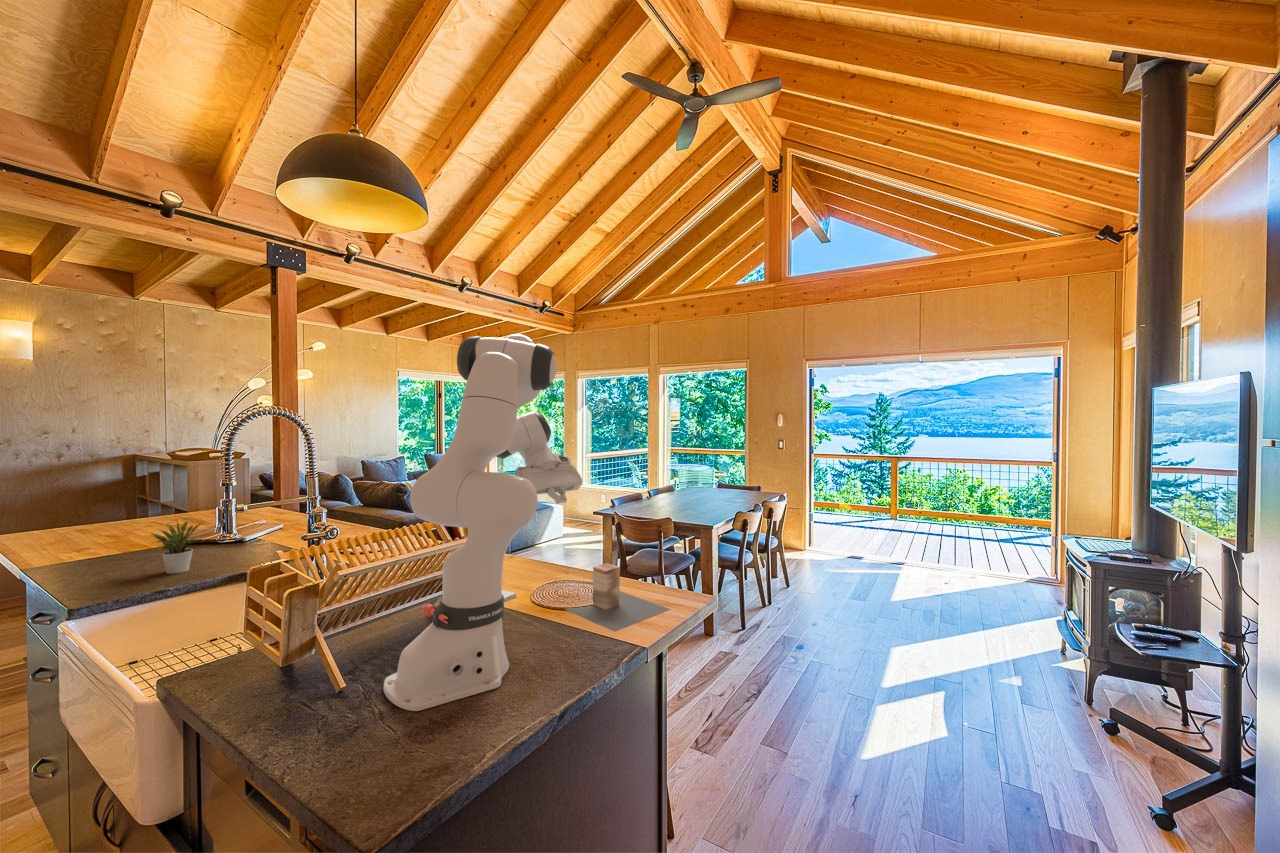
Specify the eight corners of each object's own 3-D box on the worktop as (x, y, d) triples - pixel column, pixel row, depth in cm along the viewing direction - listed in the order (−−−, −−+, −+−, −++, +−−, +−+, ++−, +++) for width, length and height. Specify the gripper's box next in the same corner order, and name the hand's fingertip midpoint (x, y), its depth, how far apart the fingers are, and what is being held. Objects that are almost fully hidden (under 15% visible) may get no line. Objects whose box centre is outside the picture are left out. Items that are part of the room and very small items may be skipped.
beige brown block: (605, 609, 132) (605, 570, 131) (592, 604, 135) (593, 566, 135) (619, 604, 135) (619, 567, 135) (606, 599, 139) (607, 563, 138)
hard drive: (494, 587, 145) (459, 600, 135) (516, 592, 141) (482, 606, 131) (494, 593, 145) (459, 607, 135) (516, 598, 141) (482, 613, 131)
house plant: (203, 561, 169) (204, 512, 169) (218, 568, 162) (218, 517, 161) (144, 571, 158) (145, 518, 157) (157, 579, 150) (158, 524, 150)
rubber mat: (614, 633, 118) (614, 631, 118) (564, 611, 131) (564, 609, 131) (670, 611, 133) (670, 609, 133) (619, 593, 146) (619, 591, 146)
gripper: (517, 460, 146) (536, 498, 139) (573, 457, 160) (593, 492, 154) (508, 474, 149) (527, 512, 142) (564, 470, 164) (583, 504, 157)
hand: (562, 502), depth 148 cm, fingers closed
